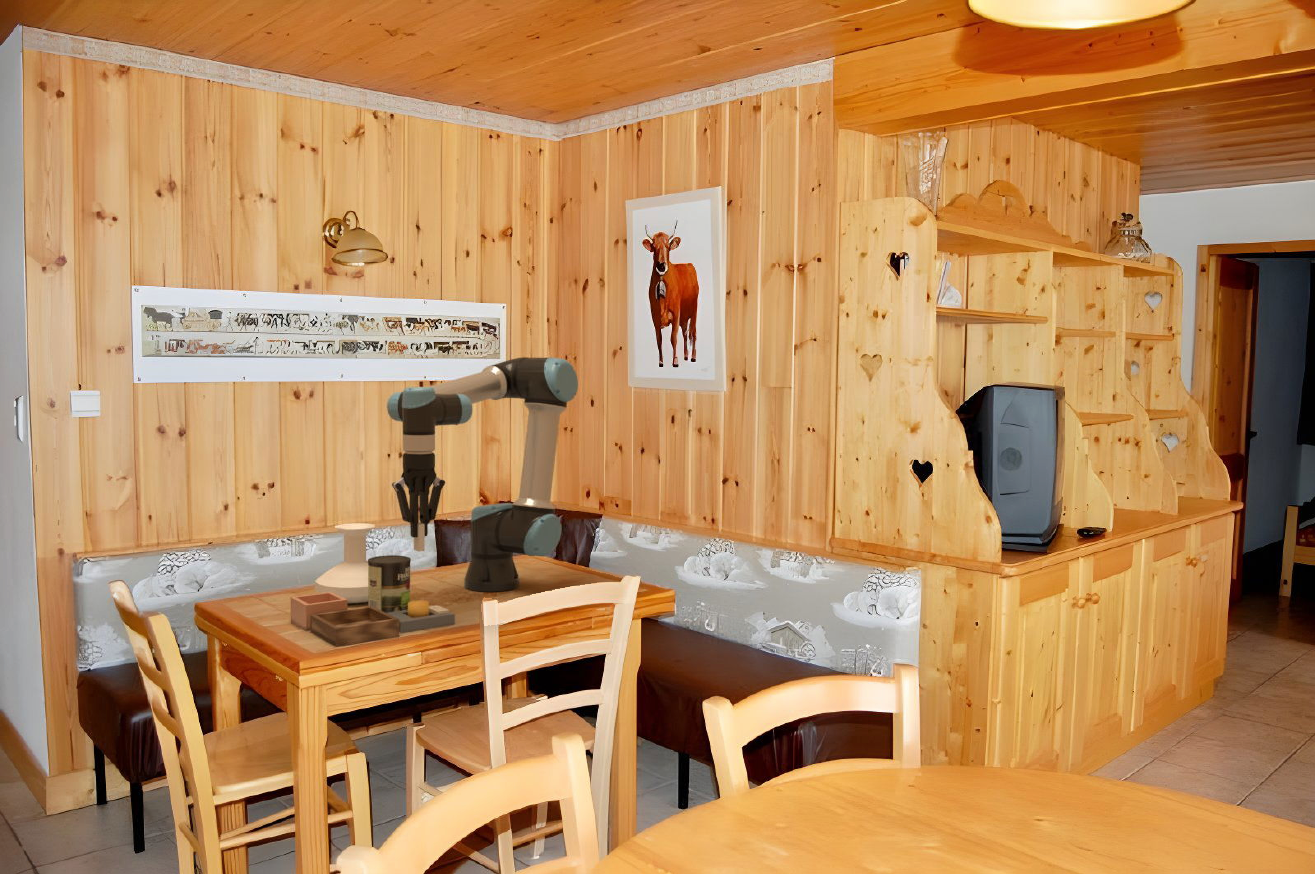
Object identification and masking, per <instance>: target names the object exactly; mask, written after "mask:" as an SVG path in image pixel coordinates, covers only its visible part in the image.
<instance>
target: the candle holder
mask: <svg viewBox="0 0 1315 874" xmlns="http://www.w3.org/2000/svg"><path fill="white" fill-rule="evenodd" d="M375 527H376V525H375V524H373V523H367V522H366V523H363V522H361V523H359V522H357V523H355V522H354V523H352V522H351V523H344V524H343V523H342V524H336V525H334V528H335V529H336V530H337V531H338V532H340V533H341V534H342V535H343V561H342V562H340V563H339V564H337V565H335V566H333V567H332V568H330V569H329V570H327V571H325V572H324V573H323V574H322V575H320V576H319V577H318V578H317V579H316V580H315V581H314V591H316V592H317V594H318V593H326V592H333V593H335V594H337V595H339V596H341V597H343V598H345V599H347V604H361V603H364V604H365V603H368V560H367V534H368V533H369V532H370V531H372V530H373V529H374V528H375Z"/></svg>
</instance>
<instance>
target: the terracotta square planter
mask: <svg viewBox="0 0 1315 874" xmlns="http://www.w3.org/2000/svg"><path fill="white" fill-rule="evenodd" d="M341 610H348V603H347V599H345V598H343V597H341V596H339V595H337V594H335V593H333V592H326V593H318V592H317V593H312V594H303V595H299V596H291V597H290V622H291V623H292V624H294V625H295V626H297V627H298V628H301V629H302V630H304V631H307V632H308V631H311V619H310V615H313V614H320V613H327V612H334V611H341Z"/></svg>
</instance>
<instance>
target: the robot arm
mask: <svg viewBox="0 0 1315 874" xmlns="http://www.w3.org/2000/svg"><path fill="white" fill-rule="evenodd" d="M578 388H579V379H578V374H577V372H576V370H575V368H574V366H573V365H572V364H571V362H569V361H568V360H566V359H564V358H557V357H525V356H524V357H517V358H511V359H509V360H504V361H501V362H499V363H495V364H491V365H489V366H486V367H484V368H483V369H482V371H480V372H477V373H473V374H470V375H466V376H462V377H459V378H456V379H452V380H448V381H446V382H442V383H439V384H438V383H437V384H434V385H430V386H410V387H409V386H407V387H405V388H404V389H403V391H396V392H394V393H392V394H391V395H390V396H389V398H388V400H387V403H386V410H387V414H388V416H389V417H390V418H391V419H392V420H394V421H396V422H401V423H402V451H404V453H403V454H402V473H401V475H400V479H398V480H397V481H395V482H394V481H393V482H392V483H391V486H392V488H393V489H394V491H395V492H396V493H395V494H396V497H397V501H398V505H399V510H400V514H401V519H402V521H404V522H407V523H409V527H410V534H409V535H410V537H411V538H413V551H416V552H425V551H426V550H425V549H426V548H425V543H426V541H425V539H426V538H425V537H427V536H428V534H429V533H428V529H429V528H428V525H429V524H430V523H431V522H432V521H434V520H436V516H437V514H438V513H437V512H438V507H439V503H440V498H441V494H442V490H443V488H444V486H445V484H446V481H445V480H444V479H441V478H439V476H437V473H436V471H435V470H436V469H435V467H436V454H435V453H434V451H436V427H437V426H452V425H455V426H458V425H461V424H466V423H467V422H469V421H470V420H471V418H472V416H473V405H474V404H476V403H480V402H483V401H486V400H490V399H491V400H492V401H499V400H502V399H520V400H521V399H522V400H524V402H523V405H524V406H525V407H526V409H527V410H528V415H527V425H526V432H525V442H524V450H523V460H522V468H521V477H520V483H519V484H520V486H519V495H518V498H517V499H516V500H515V501H514V502H512V503H511V502H505V503H504V502H503V503H492V504H483V505H478V506H475V507H473V509H472V511H471V516H470V517H471V518H470V561H469V564H468V566H467V570H466V573H465V576H464V588H465V589H466V590H470V591H475V592H492V593H493V592H504V591H511V590H515V589H517V588H518V587H519V586H520V577H519V574H518V571H517V567H516V565H515V564H516V563H515V562H514V554H519V555H520V554H521V555H526V556H529V557H544V556H548V555H549V554H551V553H552V552H553V551H554V550H555V549H556V548H557V546H558V544H559V542H560V540H561V536H562V532H563V531H562V523H561V520H560V518H559V517H558V516H557V515H555V512H556V507H555V506H554V505H553V503H552V501H551V497H552V491H553V490H552V489H553V480H554V470H555V462H556V454H557V447H558V446H557V445H558V436H559V425H560V418H561V415H562V413H563V412H565V411H566V410H567V406H568V405H567V404H568V403H569V402H570V401H573V400H574V398H575V396H576V395H577V392H578ZM405 487H407V489H408V495H409V499H408V498H407V493H406V491H405ZM431 487H432V489H431V493H430V488H431ZM429 495H430V497H429ZM408 500H409V501H408Z"/></svg>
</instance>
